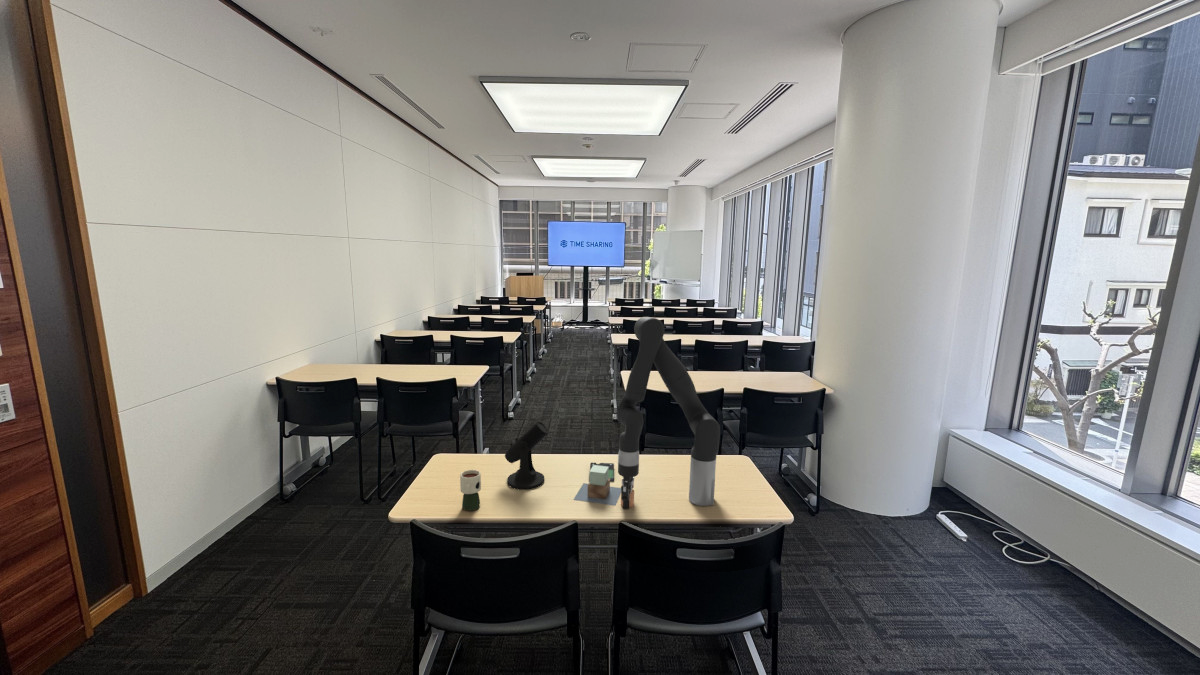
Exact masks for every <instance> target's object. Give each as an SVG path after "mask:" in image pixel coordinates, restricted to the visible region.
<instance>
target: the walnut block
mask: <svg viewBox="0 0 1200 675" xmlns="http://www.w3.org/2000/svg"><path fill="white" fill-rule="evenodd" d="M587 484H588V495H587V497H592V498H599V499H606V498H607V496H608V493H609V491H610V487H611V481H610V479H609V478H608V481H607V483H606V485H605V486H601V485H593V484H589V482H588V483H587Z"/></svg>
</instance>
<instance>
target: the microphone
mask: <svg viewBox="0 0 1200 675" xmlns="http://www.w3.org/2000/svg"><path fill="white" fill-rule="evenodd" d="M548 434H549V432H548V429H547V427H546V426H545V424H543V423H542V422H540V421H535V423H533V425H531V426H530V427H529V428H528V429H527V430H526V431H525V432H524V433H523V434H522V435H520V436H519V437H515V438H514V440H515V441H514V442H510V443H509V447H508V449H507V450H506V452H505V454H504V457H505V459H506V461H507V462H508V463H510V464H513V463H516V462H518V461H519V469H517V470H516V471H515V472H512V473H511V474H510V475H508V477H507V479H506V483H507V486H509V487H510V486H511V487H510V488H511V489H514V488H515V489H514V490H518V489H519V490H520V491H521V490H522V491H526V490H527V491H528V490H534V489H536V488H537V489H538V488H539V487H541V486H543V485H544V483H545V476H544V474H543V473H541V472H539V471H537V470H536V469H535V467H534V464H533V458H532V457H533V456H532V450H533V448H534V447H535V446H536V445H537V444H539V443H540V441H542V440H543V439H544V438H545V437H546V436H547V435H548ZM519 490H518V491H519Z"/></svg>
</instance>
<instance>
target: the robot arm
mask: <svg viewBox="0 0 1200 675" xmlns="http://www.w3.org/2000/svg"><path fill="white" fill-rule="evenodd" d="M633 329H634V334H635V337H636V339H637V340H638V341H639V347H638V352H637V356H636V359H635V361H634V363H633V366H632V368H631V370H630V372H629V375H628V379H627V383H626V387H625V393H624V395H623V397H622V398H621V401H620V403H619V404H618V407H617V410H616V418H617V421H618V423H619V424H621V425H622V426H625V431H623V432H621V433H620V435H619V438H618V439H619V442H618V443H619V444H618V445H619V446H618V455H617V457H618V458H617V473H618V475H619V476H621V477H622V479H621V486H620V488H621V494H620V500H621V499H622V500H623V507H622V509H626V510H629V509H630V508H629V499H630V493H631V492H632V489H633V490H634V488H635V478H636V477H637V476H638V475H639V474H640V437H641V434H642V431H643V428H644V427H643V426H644V416H643V413H642V412H641V411H640V410H639V409H636V407H637V404H638V403H641V402H644V400H645V397H646V392H647V388H648V384H649V379H650V374H651V371H652V368H653V365H654V366H655V368H656V370H657V373H658V374H659V375H660V378H661V379H662V381H663V383H664V385H665V387H666V389H667V390H668V392H669V393H670V394H671V396H672V398H673V399H674V400H675V402H676V403H677V404H678V405H679V407H680V408H681V410H682V411H683V413H684V416H685V419H687V423H688V424H689V428H690V430H691V431H692V433H693V434H694V444H693V446H692V448H691V451H690V467H689V468H690V470H689V485H688V486H689V487H688V500H689V502H690V503H691V504H693V505H696V506H700V507H708V506H714V503H715V486H716V470H717V469H716V464H717V455H718V453H719V448H720V439H721V426H720V424H719V422H718V421H717V420H716V419H715V418H714V417H713V416H712V415H711V414H710V413H709V412H708V410H707V409H706V408H705V406H704V404H702V402H701V400H700V398H699V395H698V393H697V390H696V386H695V384H694V381H693V379H692V377H691V375H690V374H689V372H688V370H687V369H686V367H685V365H684V364H683V363H682V361H681V360H680V359H679V358H678V357H677V355H675V353H673V351H672V350H671V349H670V347H669V346H668V344H667V343H666V341H665V339H664V335H665V325H664V323H663V322H662V321H661V320H660V319H658V318H656V317H650V316H642V317H640V318H638V319H637V320H636V322H635V324H634V326H633ZM629 490H630V491H629Z"/></svg>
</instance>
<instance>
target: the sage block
mask: <svg viewBox="0 0 1200 675" xmlns="http://www.w3.org/2000/svg"><path fill="white" fill-rule="evenodd" d="M608 477H609V467H607V466H598V465H593V467H592V468H591V470H590V469H589V474H588V483H589V484H593V485H601V486H605V485H606V483H607V481H608Z"/></svg>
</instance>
